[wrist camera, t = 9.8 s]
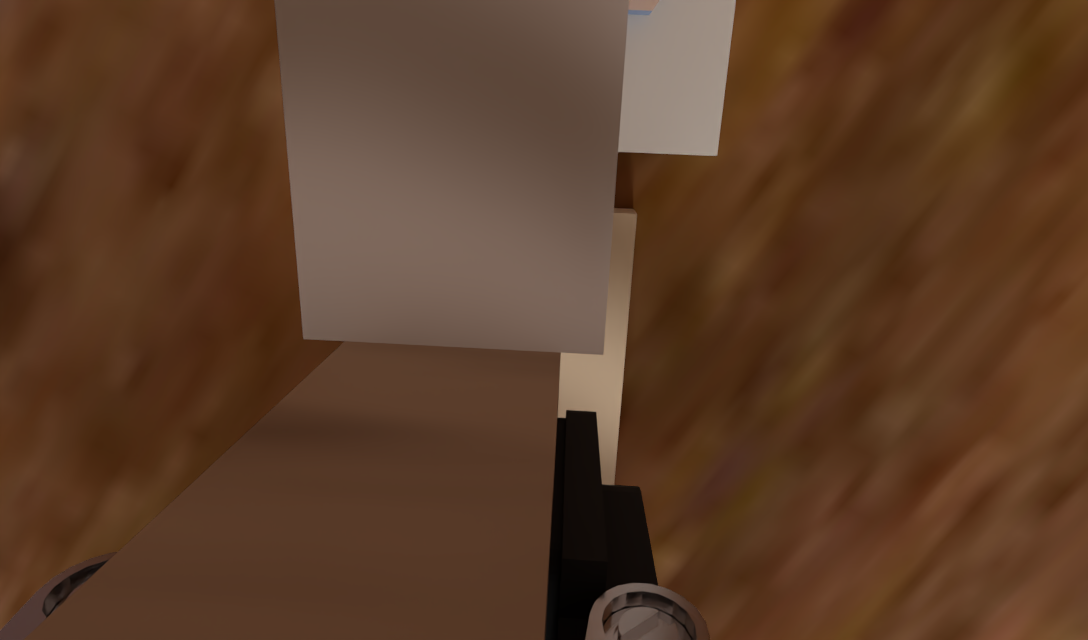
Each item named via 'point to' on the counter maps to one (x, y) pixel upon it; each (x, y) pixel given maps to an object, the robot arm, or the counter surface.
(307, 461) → the brown block
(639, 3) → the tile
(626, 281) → the rest board
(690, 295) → the counter surface
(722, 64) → the mat
